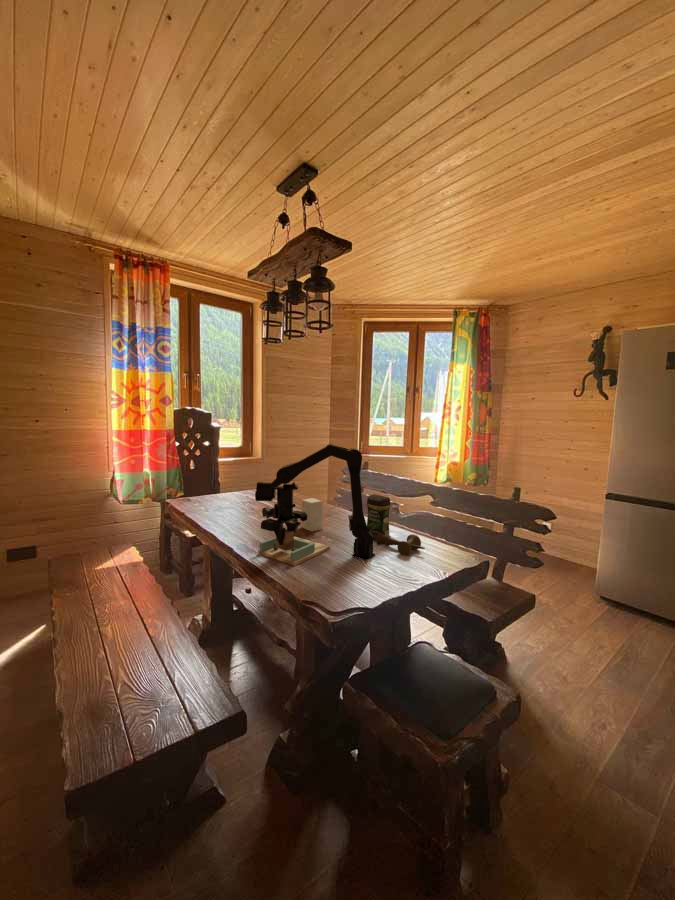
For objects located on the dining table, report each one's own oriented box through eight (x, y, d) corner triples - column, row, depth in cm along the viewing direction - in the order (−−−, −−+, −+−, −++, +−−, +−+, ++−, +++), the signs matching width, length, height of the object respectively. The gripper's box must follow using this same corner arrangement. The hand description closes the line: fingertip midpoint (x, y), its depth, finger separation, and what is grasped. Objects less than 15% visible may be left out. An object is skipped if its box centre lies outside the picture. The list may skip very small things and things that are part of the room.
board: (329, 549, 143) (329, 539, 143) (294, 565, 127) (294, 555, 127) (294, 539, 153) (294, 530, 153) (258, 553, 137) (258, 543, 137)
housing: (314, 551, 137) (314, 543, 136) (293, 561, 127) (293, 552, 127) (282, 542, 146) (282, 534, 146) (259, 550, 137) (259, 542, 136)
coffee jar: (362, 538, 157) (363, 494, 155) (374, 534, 163) (375, 492, 161) (380, 543, 150) (382, 498, 148) (392, 539, 156) (393, 495, 154)
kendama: (383, 542, 154) (429, 552, 142) (371, 549, 146) (419, 560, 134) (383, 528, 153) (429, 536, 142) (371, 534, 146) (419, 544, 134)
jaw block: (293, 547, 136) (293, 531, 135) (286, 550, 132) (286, 534, 132) (283, 544, 138) (283, 528, 138) (276, 547, 135) (276, 531, 135)
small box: (322, 529, 168) (323, 501, 166) (311, 532, 164) (311, 502, 162) (312, 525, 174) (312, 497, 173) (301, 527, 170) (301, 499, 169)
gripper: (286, 493, 146) (286, 532, 147) (249, 502, 131) (250, 545, 132) (308, 498, 140) (307, 538, 141) (272, 507, 124) (272, 552, 126)
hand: (284, 543), depth 135 cm, fingers closed on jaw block, 4 cm apart
